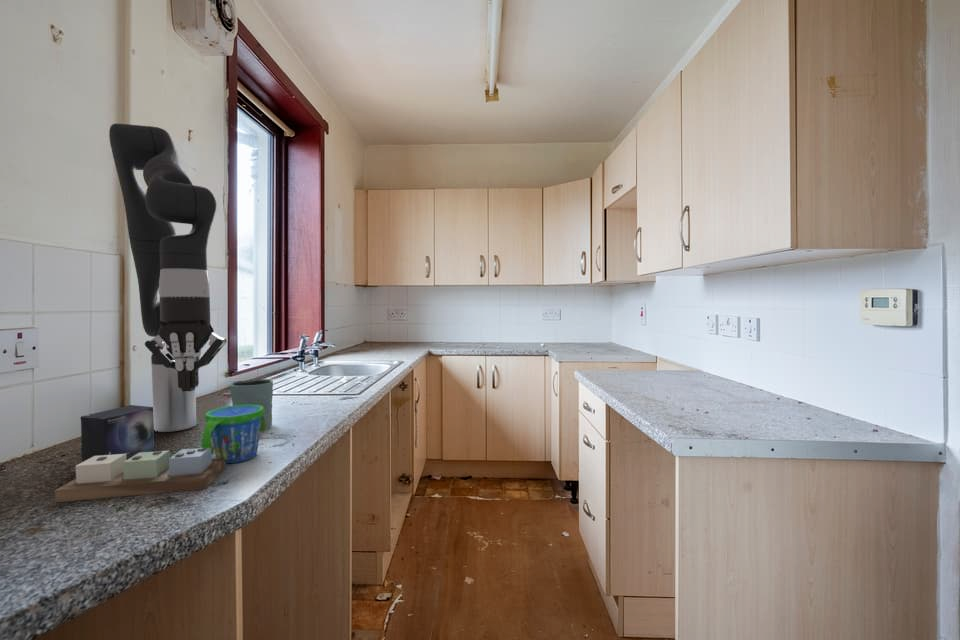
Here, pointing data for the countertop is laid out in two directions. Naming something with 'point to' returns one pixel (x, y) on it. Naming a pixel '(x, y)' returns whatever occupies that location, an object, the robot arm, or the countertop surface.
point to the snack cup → (234, 432)
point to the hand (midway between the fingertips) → (188, 390)
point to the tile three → (190, 461)
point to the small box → (118, 432)
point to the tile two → (146, 465)
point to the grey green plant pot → (254, 395)
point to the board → (139, 485)
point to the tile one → (100, 468)
